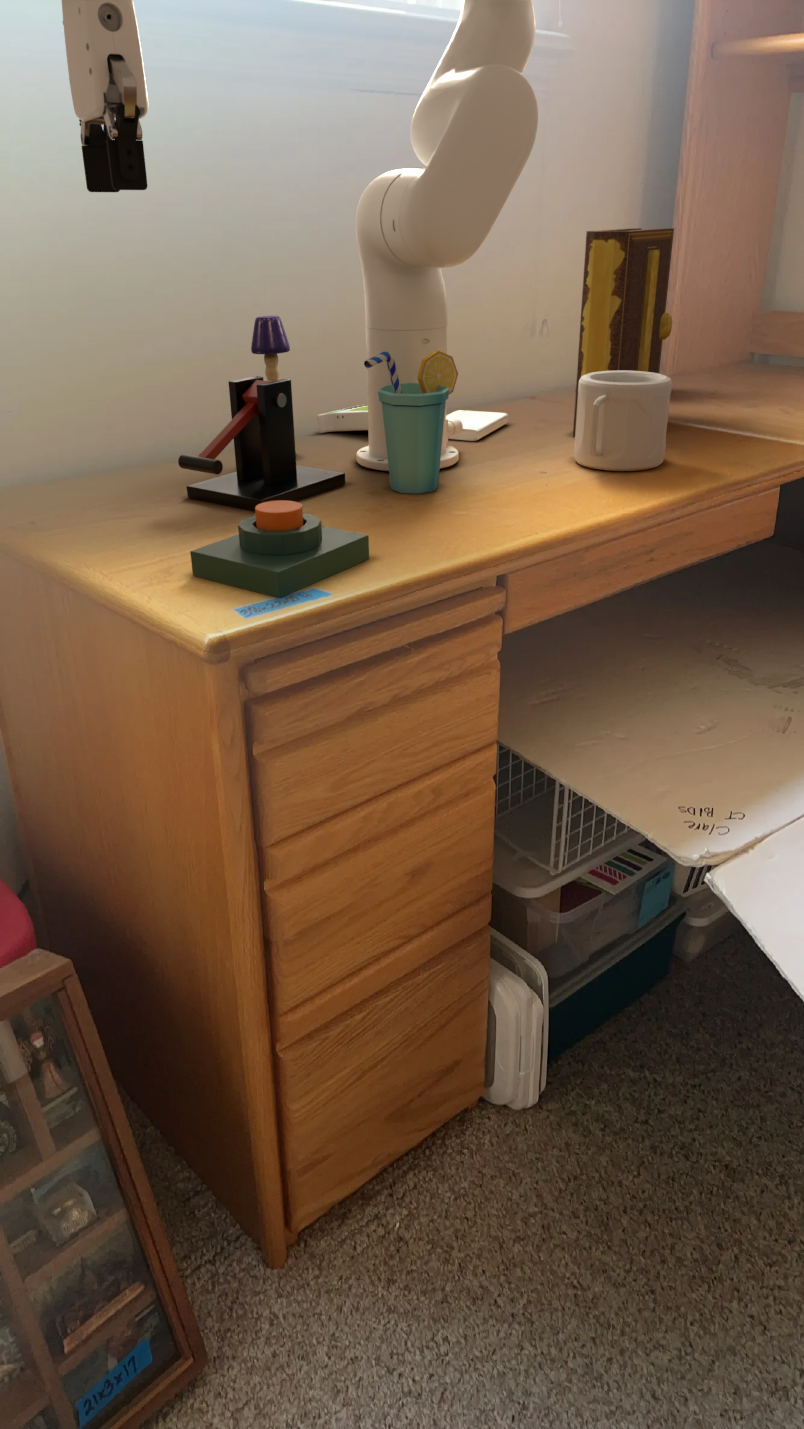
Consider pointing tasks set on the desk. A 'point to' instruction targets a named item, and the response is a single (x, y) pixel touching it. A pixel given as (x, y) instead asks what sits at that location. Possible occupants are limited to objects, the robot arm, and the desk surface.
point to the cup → (415, 421)
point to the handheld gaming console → (344, 420)
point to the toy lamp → (269, 343)
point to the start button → (279, 515)
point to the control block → (279, 556)
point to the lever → (223, 436)
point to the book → (624, 301)
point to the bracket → (265, 454)
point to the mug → (622, 420)
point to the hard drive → (477, 423)
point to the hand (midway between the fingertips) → (116, 190)
